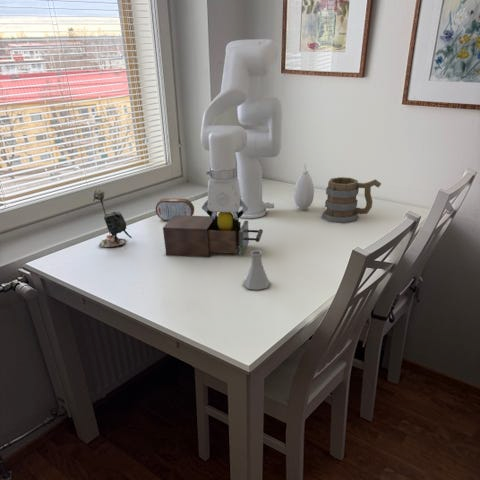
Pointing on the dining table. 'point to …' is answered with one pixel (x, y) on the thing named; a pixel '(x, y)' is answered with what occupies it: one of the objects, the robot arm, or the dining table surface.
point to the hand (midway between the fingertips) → (226, 229)
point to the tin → (173, 208)
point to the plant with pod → (112, 224)
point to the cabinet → (187, 236)
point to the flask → (256, 273)
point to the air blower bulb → (304, 190)
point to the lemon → (225, 221)
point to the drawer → (231, 239)
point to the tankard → (346, 199)
